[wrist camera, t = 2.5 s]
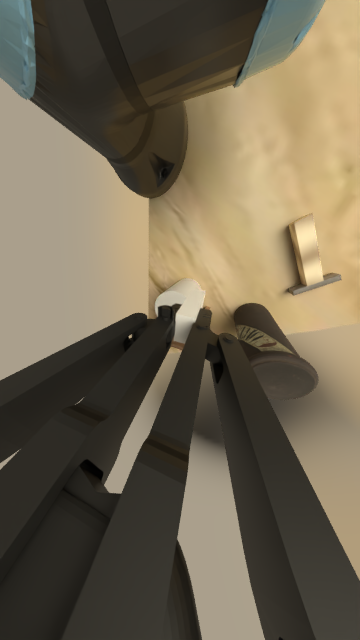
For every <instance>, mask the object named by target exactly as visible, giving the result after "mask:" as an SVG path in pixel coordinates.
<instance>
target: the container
mask: <svg viewBox="0 0 360 640" xmlns="http://www.w3.org/2000/svg"><path fill="white" fill-rule="evenodd" d="M234 320H235V325H236V330H237V335H238V340H239V342H240V344H241V346H242V348H243V350H244V352H245V354H246V356H247V358H248V360H249V362H250V364H251V366H252V368H253V370H254V372H255V374H256V376H257V378H258V380H259V382H260V384H261V386H262V388H263V390H264V392H265V394H266V396H267V398H271V399H278V400H289V399H296V398H300V397H303V396H305V395H307V394H309V393H310V392H312V391H313V390H314V389H315V388H316V386H317V384H318V375H317V372H316V371H315V369H314V368H313V367H312V366H311V365H310V364H309V363H308V362H307V361H306V360H304V359H302V358H300V356H299V355H298V354H297V352H296V351H295V349H294V348H293V346H292V345H291V344H290V342H289V341H288V339H287V338H286V336H285V335H284V334H283V332H282V331H281V329H280V328H279V326H278V325H277V323H276V322H275V320H274V319H273V317H272V316H271V314H270V313H269V311H268V310H267V309H266V308H265V307H264V306H262V305H260V304H256V303H249V304H245V305H242V306H240V307H239V308H238V309H237V310H236V312H235V315H234Z"/></svg>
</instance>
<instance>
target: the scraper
mask: <svg viewBox="0 0 360 640" xmlns="http://www.w3.org/2000/svg"><path fill="white" fill-rule="evenodd" d="M289 229H290V234H291V238H292V243H293V248H294V252H295V257H296V261H297V266H298V270H299V275H300V279H301V284H299V285H296V286H293V287H291V288H288V289H289V292H290V293H291V294H292V295H297V294H300V293H303V292H306V291H309V290H312V289H315V288H318V287H321V286H324V285H327V284H330V283H333V282H336V281H339V280H341V275H339V274H335V273H330V274H327V275H324V276H323V274H322V268H321V261H320V255H319V249H318V243H317V236H316V230H315V224H314V218H313V213H311V214H309V215H306V216H304V217H302V218H300V219H298V220H297V221H295V222H293V223H291V224H289Z"/></svg>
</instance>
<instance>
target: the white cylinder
mask: <svg viewBox="0 0 360 640" xmlns="http://www.w3.org/2000/svg"><path fill="white" fill-rule="evenodd" d="M193 289H198V290H202V289H201V287H200V285H199V284H198V283H197V282H196V281H195V280H193V279H190V278H184V279H181V280H179V281H178V282H177V283H175V284H174V285H173V286H171V287H170V288H169V289H167V290H166V291H165V292H163V293H162V294H161V295H159V296H158V298H157V299H156V302H155V312H156V315H157V317H158V307H159V306H162V305H169V306H172V305H173V304H175V303H177V304H183V303H184V301H185V300H186V298H187V297H188V295H189V294H190V293H191V291H192V290H193Z"/></svg>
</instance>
